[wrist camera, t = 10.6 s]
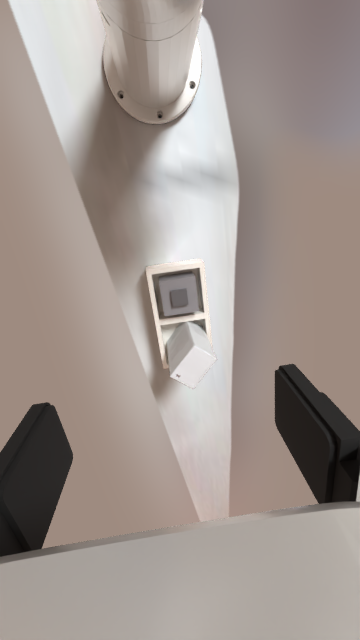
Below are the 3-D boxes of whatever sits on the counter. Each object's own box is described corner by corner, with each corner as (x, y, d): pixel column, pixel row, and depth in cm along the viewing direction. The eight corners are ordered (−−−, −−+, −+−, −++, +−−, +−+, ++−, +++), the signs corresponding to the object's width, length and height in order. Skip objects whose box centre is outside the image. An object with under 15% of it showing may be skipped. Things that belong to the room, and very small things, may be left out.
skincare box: (185, 352, 49) (193, 391, 38) (166, 340, 48) (168, 377, 37) (204, 326, 48) (218, 359, 37) (185, 314, 47) (193, 344, 36)
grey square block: (158, 276, 44) (158, 283, 39) (191, 271, 44) (195, 277, 39) (164, 307, 46) (164, 317, 41) (195, 302, 46) (199, 312, 41)
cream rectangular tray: (146, 266, 44) (145, 270, 40) (200, 258, 45) (204, 262, 41) (163, 358, 51) (163, 369, 47) (209, 350, 51) (214, 361, 47)
